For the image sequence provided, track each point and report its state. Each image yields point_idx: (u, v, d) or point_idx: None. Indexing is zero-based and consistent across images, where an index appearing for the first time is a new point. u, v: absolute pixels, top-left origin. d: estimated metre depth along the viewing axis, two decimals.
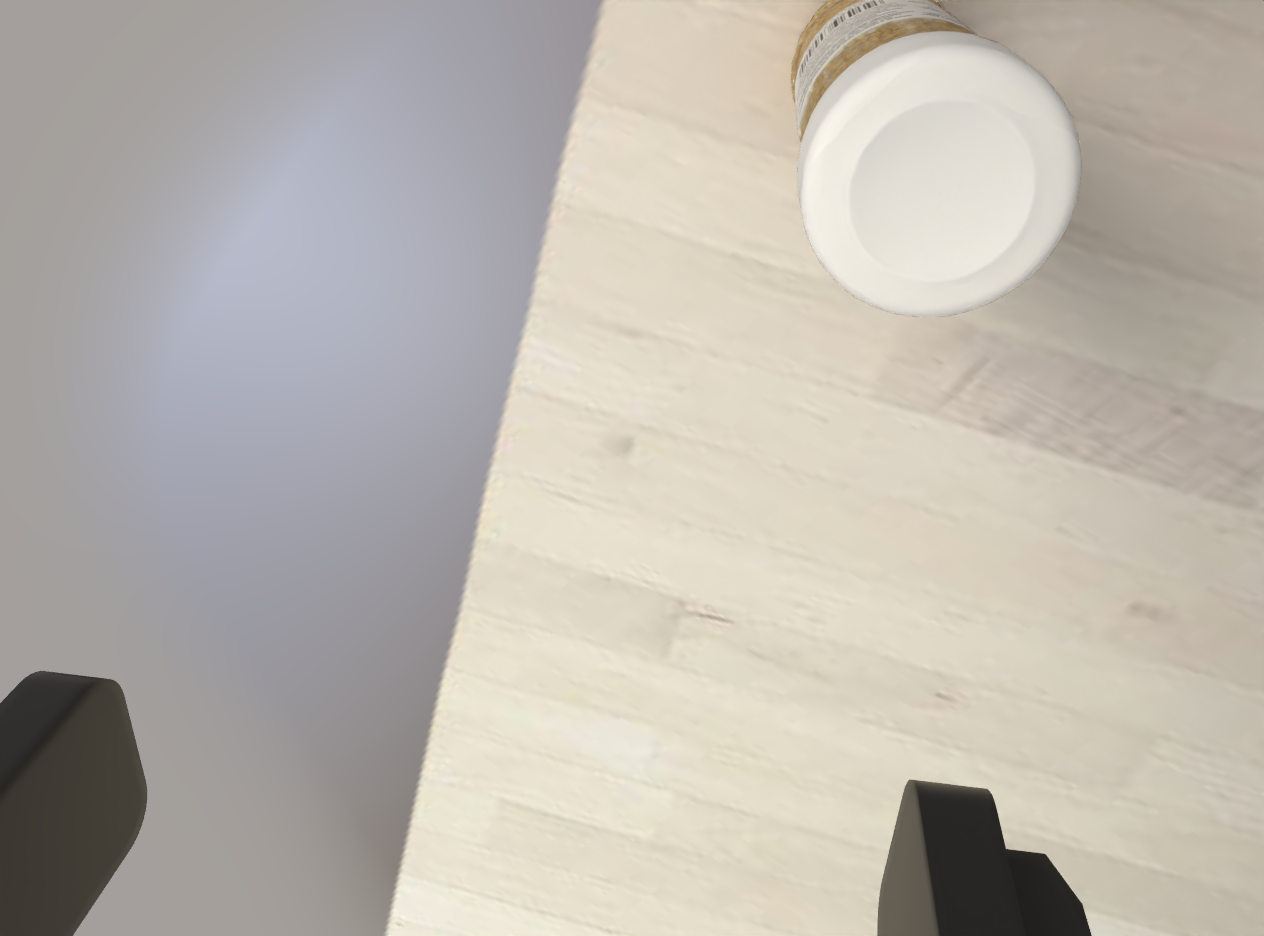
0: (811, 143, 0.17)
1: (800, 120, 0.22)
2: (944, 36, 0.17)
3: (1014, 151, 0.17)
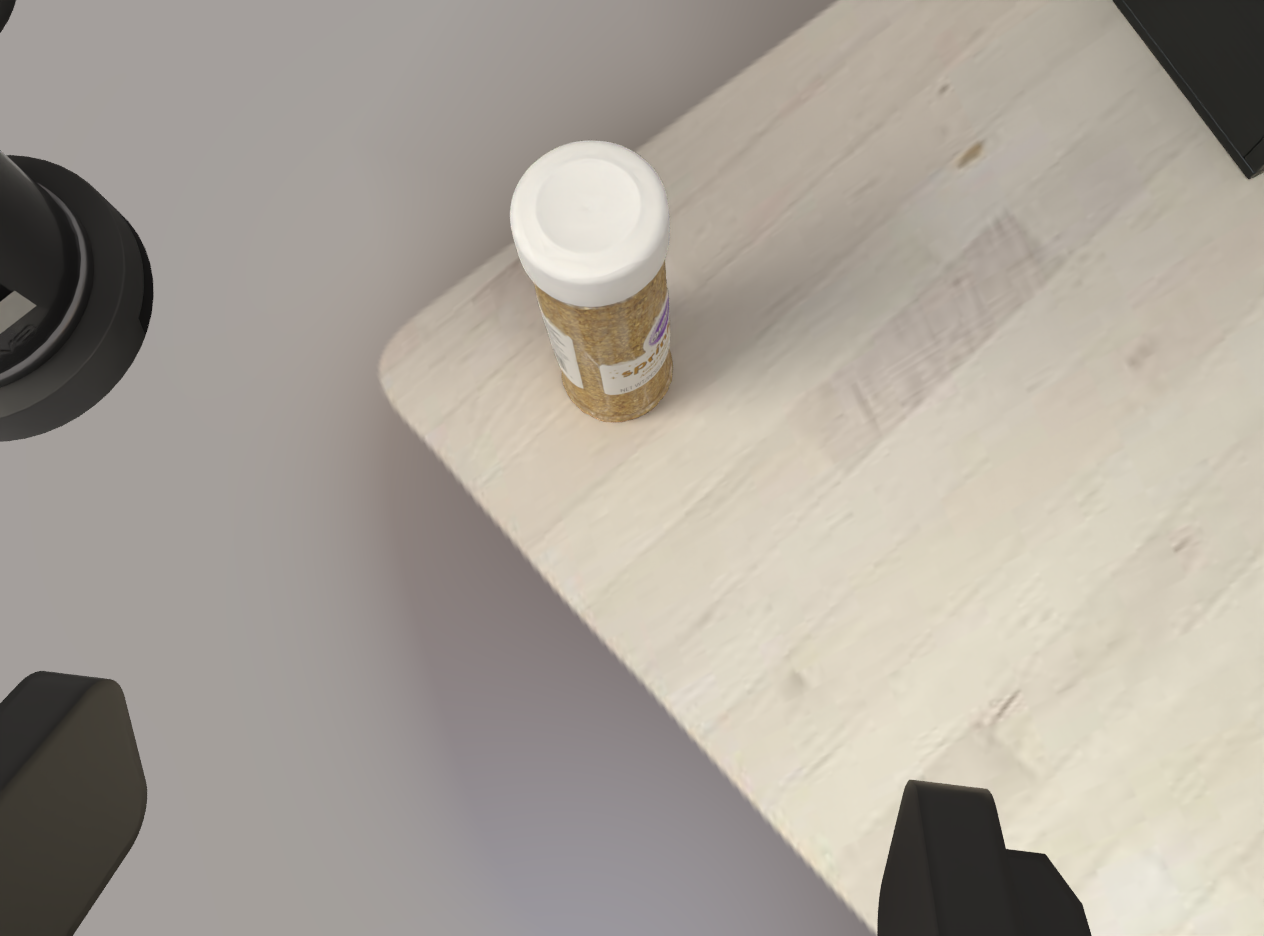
0: (527, 259, 0.29)
1: (561, 333, 0.34)
2: None
3: (587, 166, 0.30)
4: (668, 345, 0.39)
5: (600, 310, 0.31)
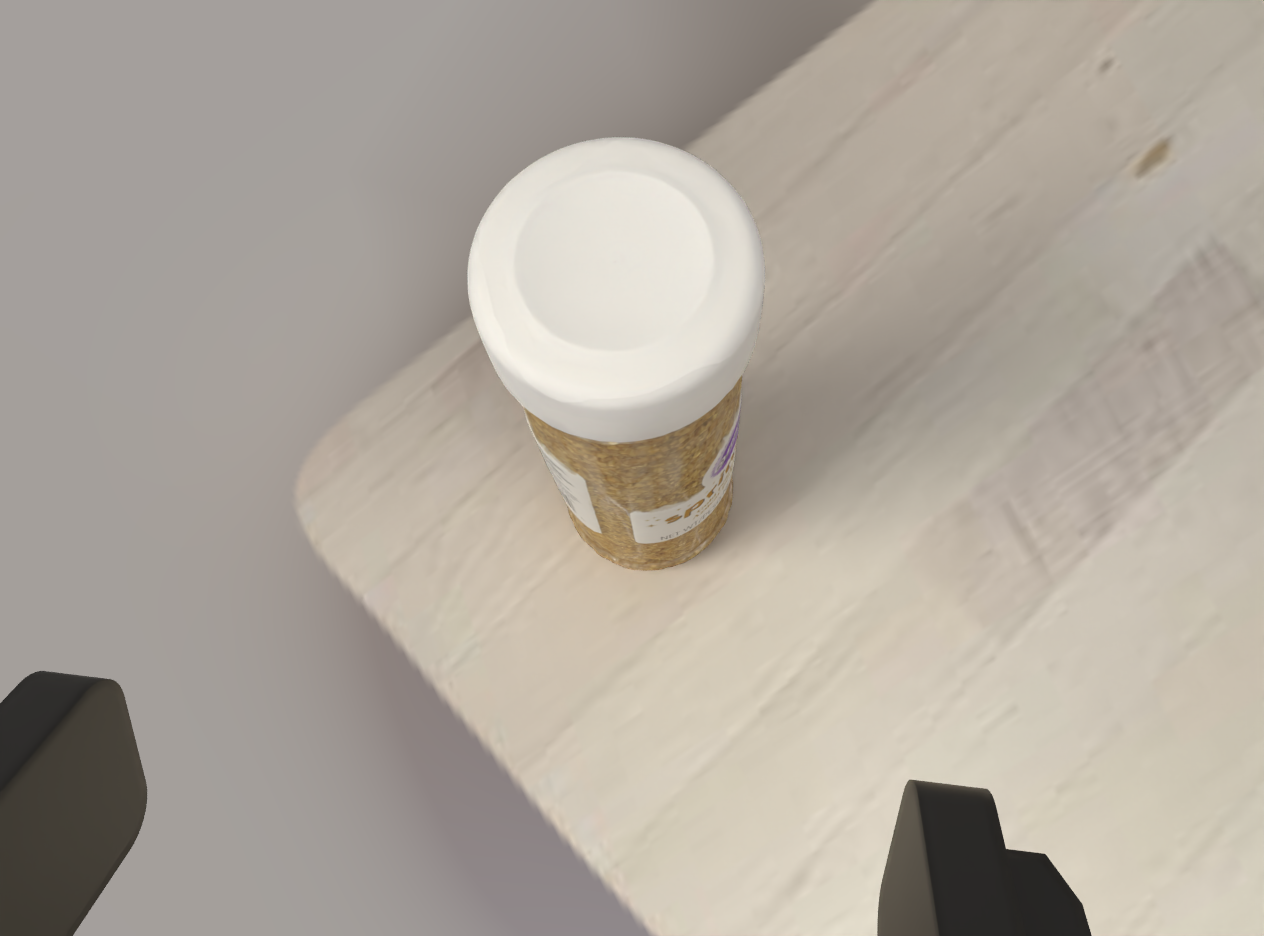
0: (501, 363, 0.16)
1: (566, 470, 0.20)
2: None
3: (609, 185, 0.16)
4: (733, 463, 0.25)
5: (637, 443, 0.17)
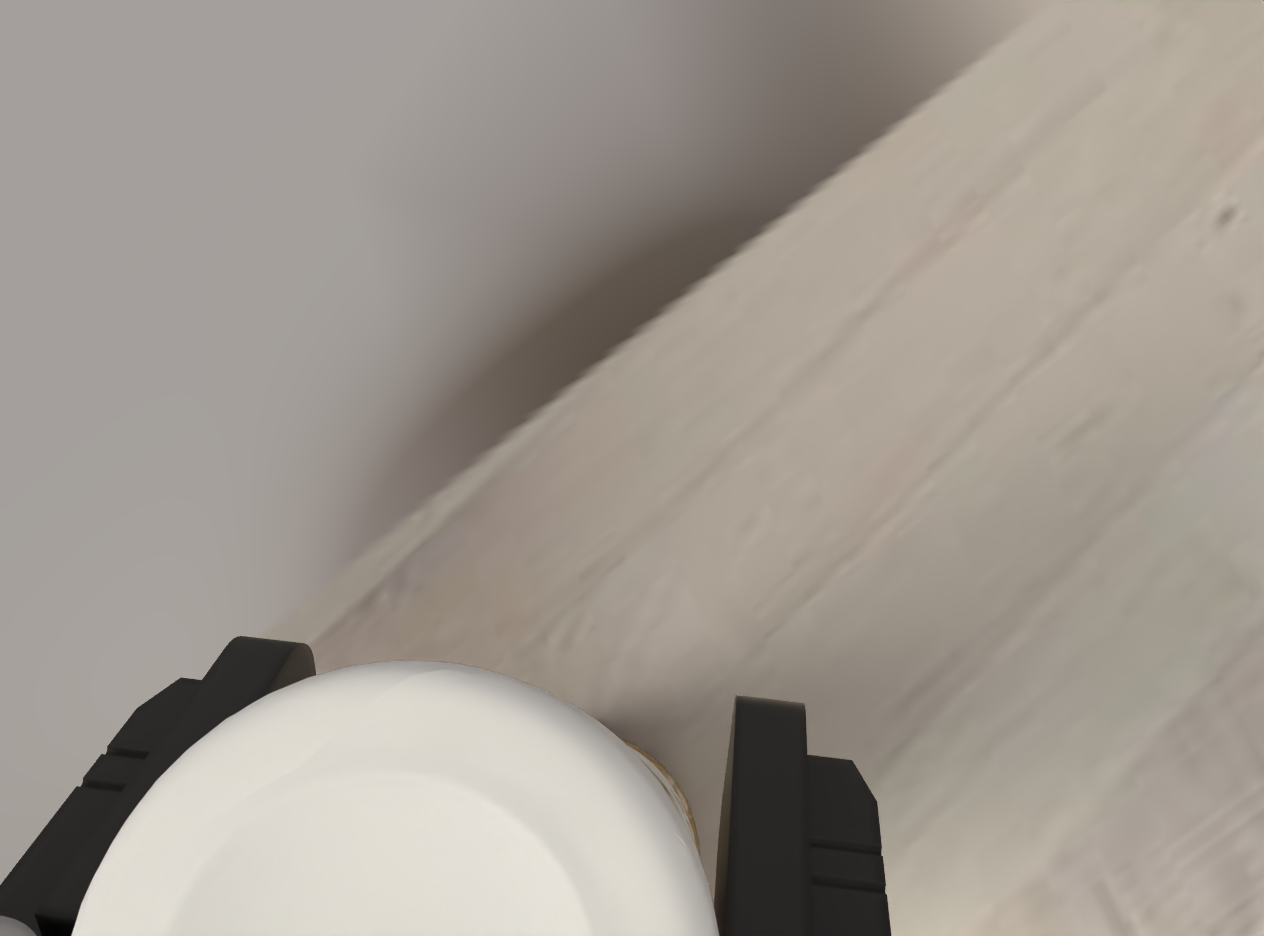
0: None
1: None
2: None
3: (377, 803, 0.07)
4: None
5: None
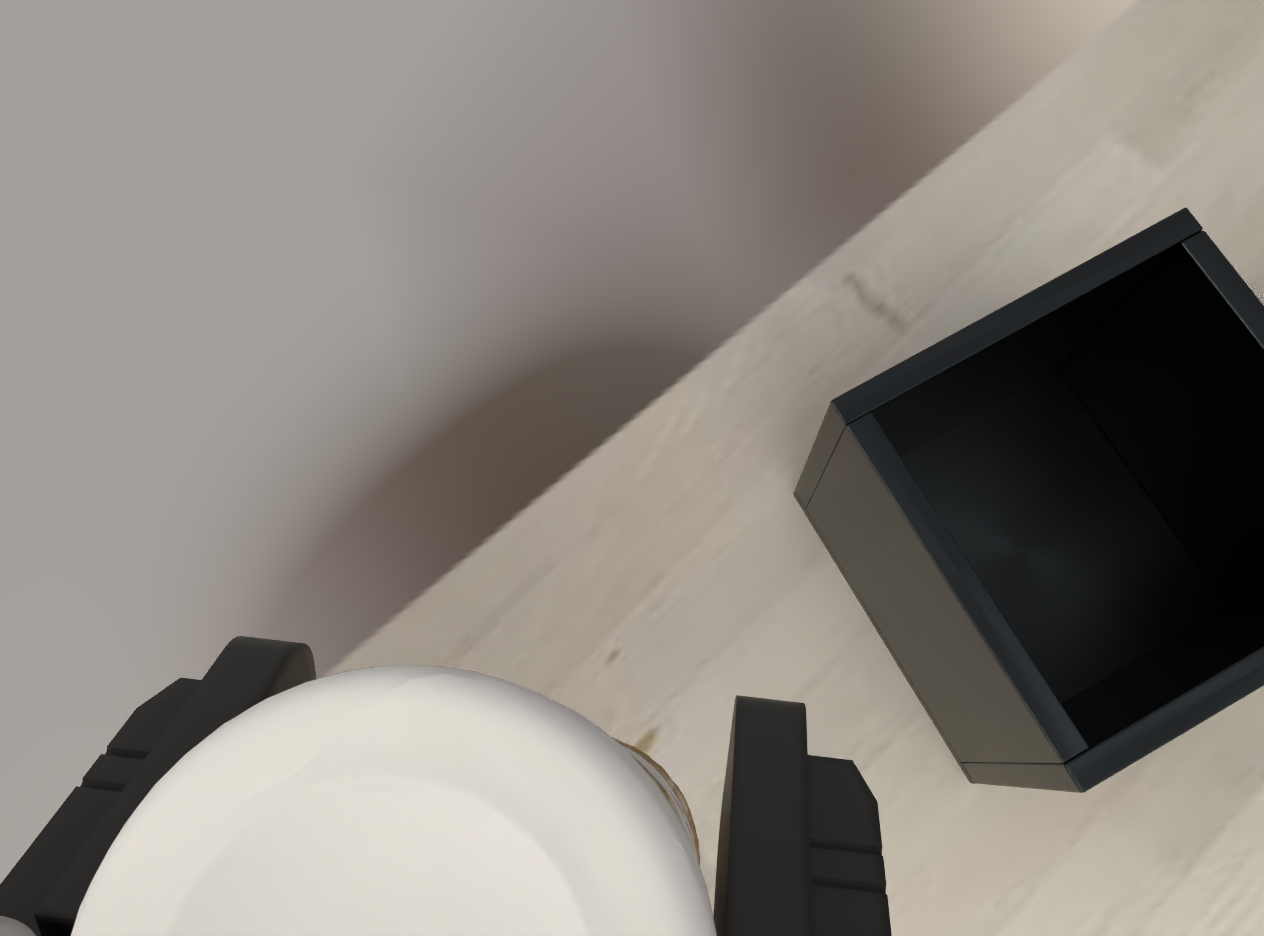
0: None
1: None
2: None
3: (373, 808, 0.07)
4: None
5: None
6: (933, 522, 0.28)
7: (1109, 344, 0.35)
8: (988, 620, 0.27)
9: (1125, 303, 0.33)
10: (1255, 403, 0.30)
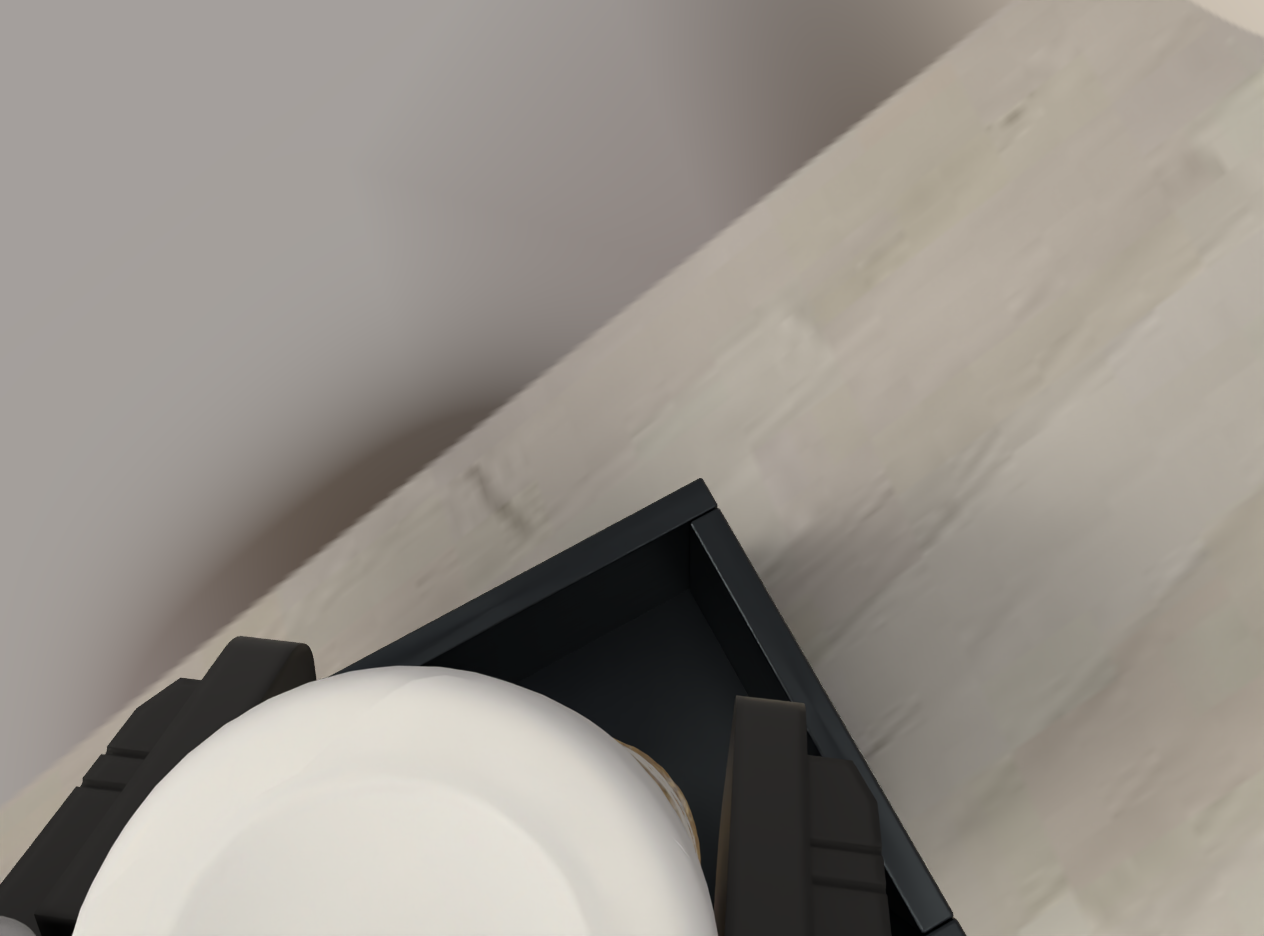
0: None
1: None
2: None
3: (376, 810, 0.07)
4: None
5: None
6: None
7: (700, 588, 0.30)
8: None
9: (690, 557, 0.28)
10: None
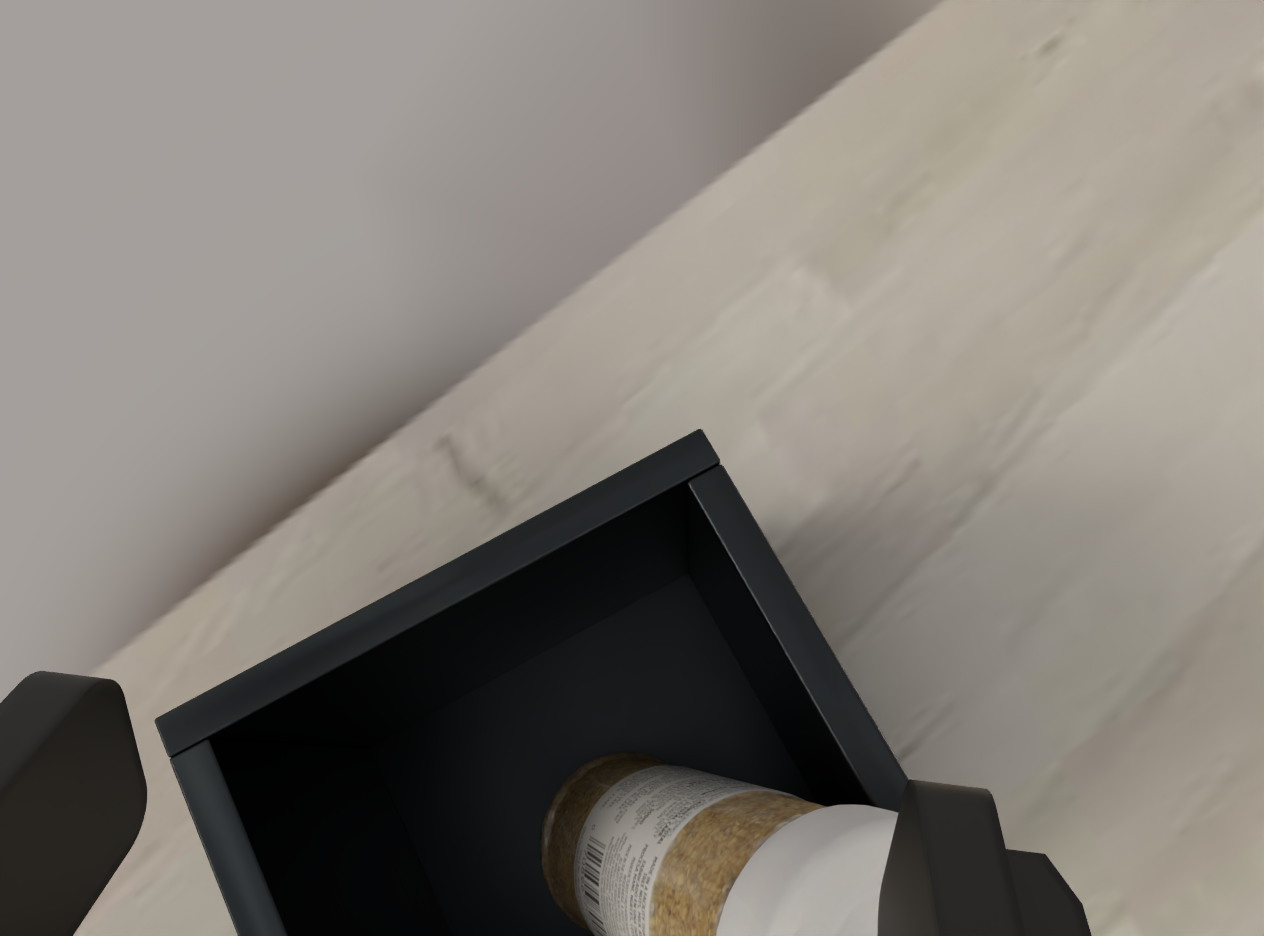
0: None
1: None
2: (751, 901, 0.15)
3: None
4: None
5: None
6: (266, 919, 0.18)
7: (700, 569, 0.26)
8: None
9: (688, 529, 0.24)
10: (803, 709, 0.21)
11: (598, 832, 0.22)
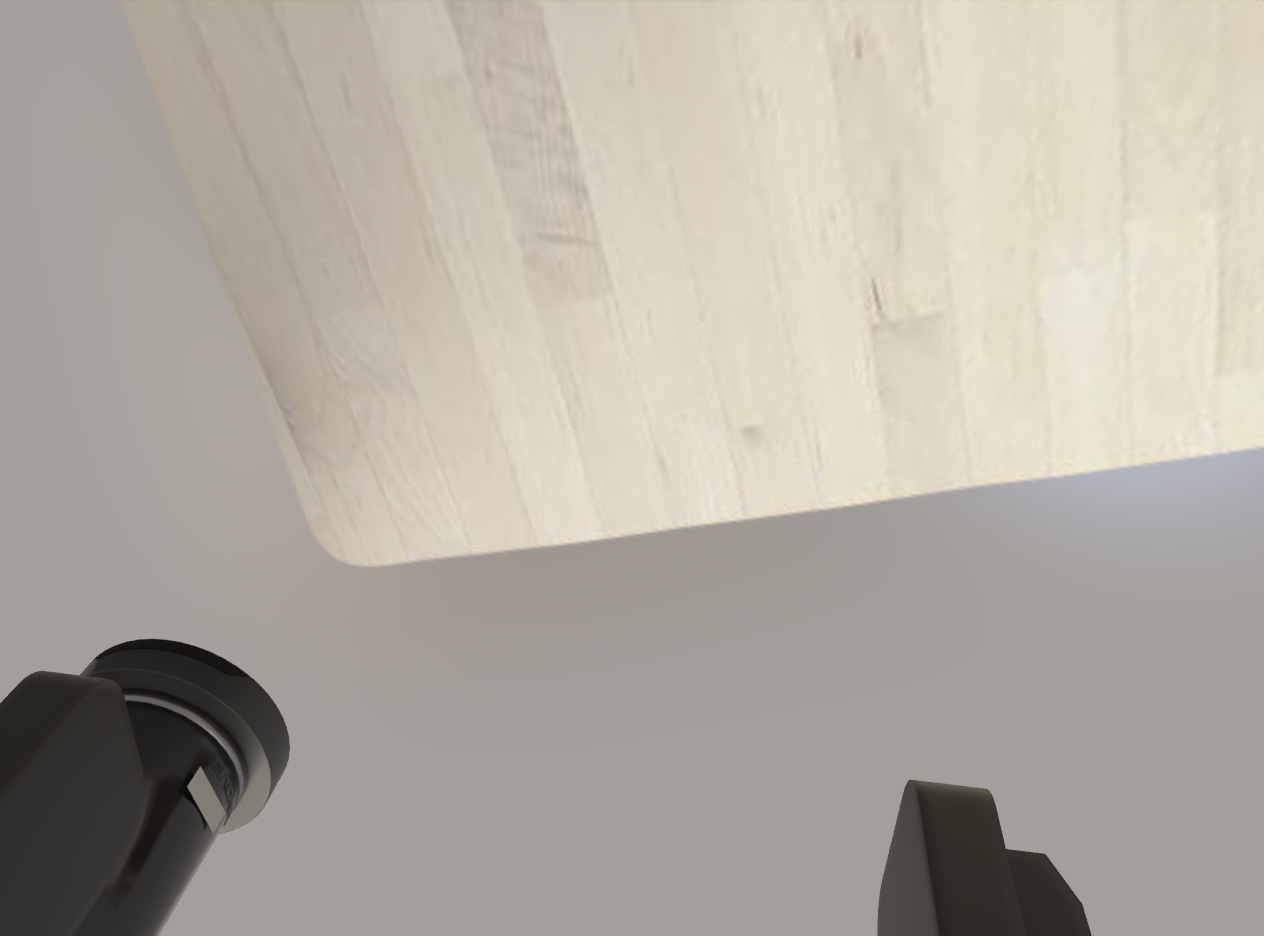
0: None
1: None
2: None
3: None
4: None
5: None
6: None
7: None
8: None
9: None
10: None
11: None
